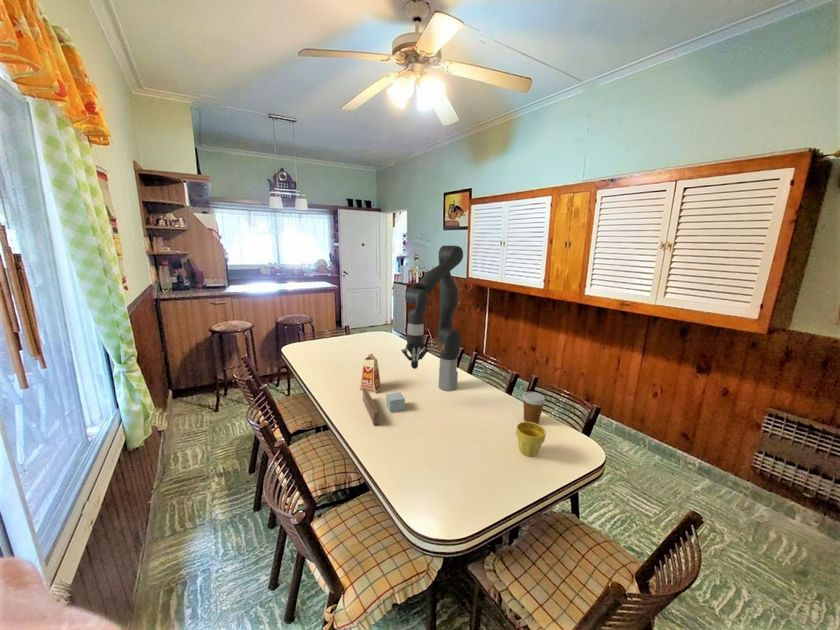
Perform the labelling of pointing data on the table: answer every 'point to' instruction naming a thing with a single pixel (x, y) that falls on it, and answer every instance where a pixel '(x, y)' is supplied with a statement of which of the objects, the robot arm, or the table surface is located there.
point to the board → (370, 407)
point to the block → (395, 402)
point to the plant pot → (530, 438)
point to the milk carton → (370, 375)
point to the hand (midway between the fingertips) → (414, 368)
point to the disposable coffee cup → (533, 406)
